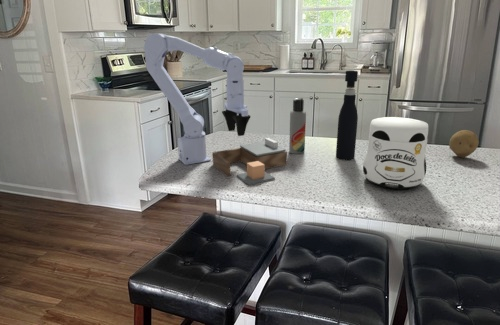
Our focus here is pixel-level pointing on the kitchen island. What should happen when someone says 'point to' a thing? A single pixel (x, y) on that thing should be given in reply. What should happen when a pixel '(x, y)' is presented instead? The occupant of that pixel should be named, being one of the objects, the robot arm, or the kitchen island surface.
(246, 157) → the wooden box
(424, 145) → the doce de leite jar
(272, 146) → the slide cover
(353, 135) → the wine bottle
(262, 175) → the block
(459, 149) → the potato
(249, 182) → the mat
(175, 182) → the kitchen island surface
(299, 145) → the lotion bottle
